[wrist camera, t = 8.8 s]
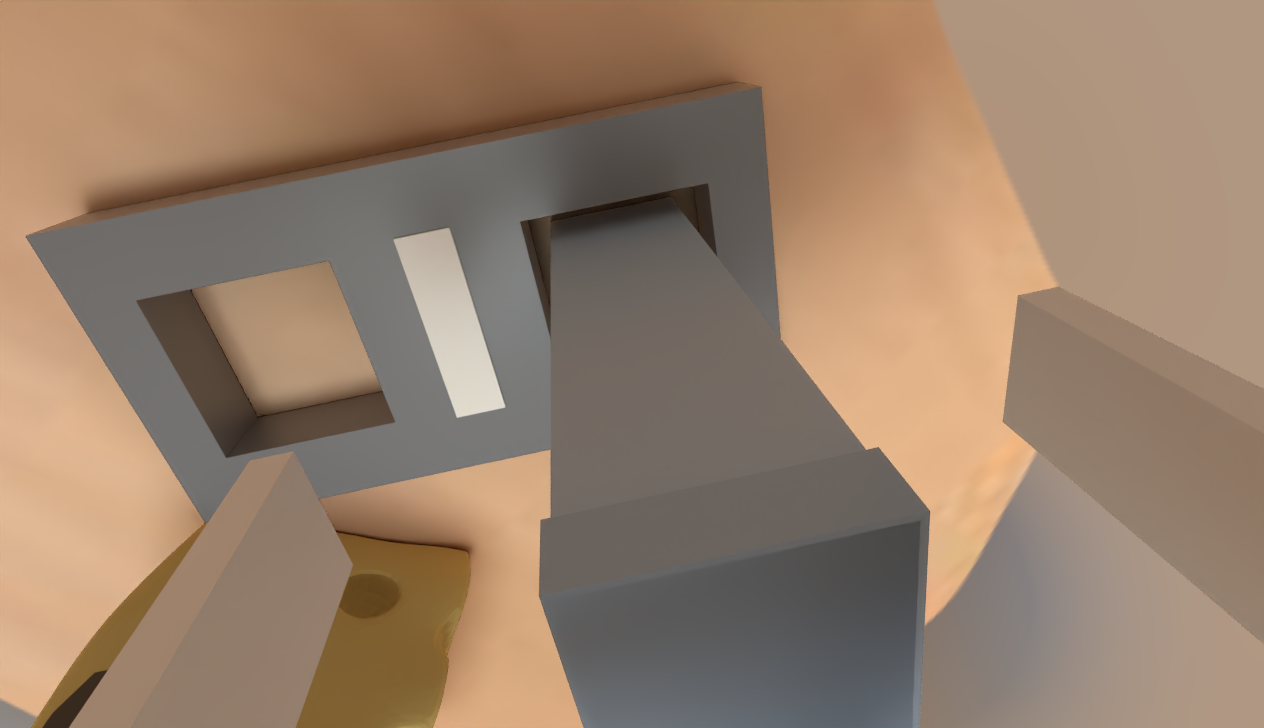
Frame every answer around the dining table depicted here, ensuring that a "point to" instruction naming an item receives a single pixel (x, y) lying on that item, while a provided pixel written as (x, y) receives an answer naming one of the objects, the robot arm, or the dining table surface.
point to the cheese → (341, 636)
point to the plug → (713, 504)
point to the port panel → (400, 284)
